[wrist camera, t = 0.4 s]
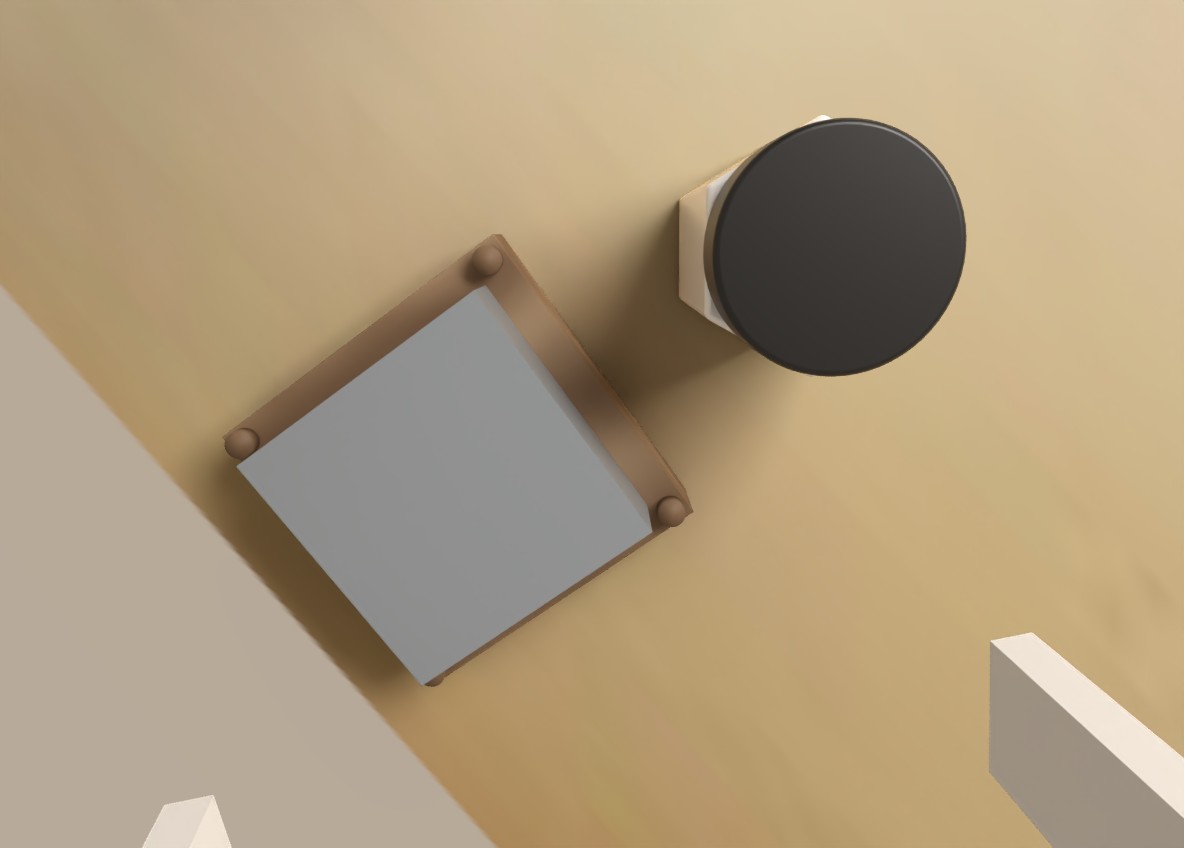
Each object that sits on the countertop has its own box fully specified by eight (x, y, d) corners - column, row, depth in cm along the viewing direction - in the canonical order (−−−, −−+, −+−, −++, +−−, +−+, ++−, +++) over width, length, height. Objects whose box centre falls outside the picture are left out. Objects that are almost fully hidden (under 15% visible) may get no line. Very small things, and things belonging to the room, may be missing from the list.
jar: (847, 342, 38) (959, 388, 27) (675, 345, 38) (710, 393, 27) (858, 143, 36) (983, 98, 25) (676, 147, 36) (715, 103, 25)
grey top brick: (270, 444, 36) (236, 466, 32) (485, 285, 34) (473, 290, 31) (437, 645, 38) (421, 686, 35) (646, 504, 36) (652, 532, 33)
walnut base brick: (254, 419, 39) (214, 441, 35) (501, 234, 37) (490, 234, 33) (445, 649, 42) (428, 695, 38) (684, 488, 40) (695, 517, 36)
